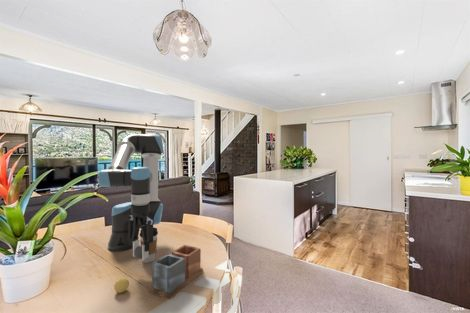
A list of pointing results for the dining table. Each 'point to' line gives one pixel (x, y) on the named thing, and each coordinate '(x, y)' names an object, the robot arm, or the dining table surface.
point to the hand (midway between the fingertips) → (140, 256)
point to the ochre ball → (121, 284)
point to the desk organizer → (175, 271)
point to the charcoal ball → (138, 252)
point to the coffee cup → (150, 246)
